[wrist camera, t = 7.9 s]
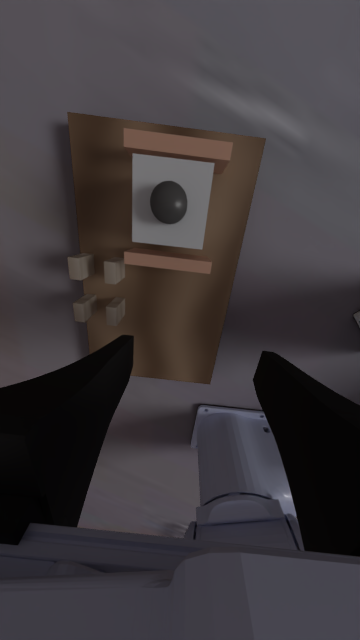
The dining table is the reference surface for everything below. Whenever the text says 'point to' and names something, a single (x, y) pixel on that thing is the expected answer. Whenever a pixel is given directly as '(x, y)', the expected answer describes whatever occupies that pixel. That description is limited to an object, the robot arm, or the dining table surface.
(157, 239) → the block
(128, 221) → the board
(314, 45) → the dining table surface
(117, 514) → the dining table surface
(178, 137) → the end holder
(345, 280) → the dining table surface
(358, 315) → the syrup box
